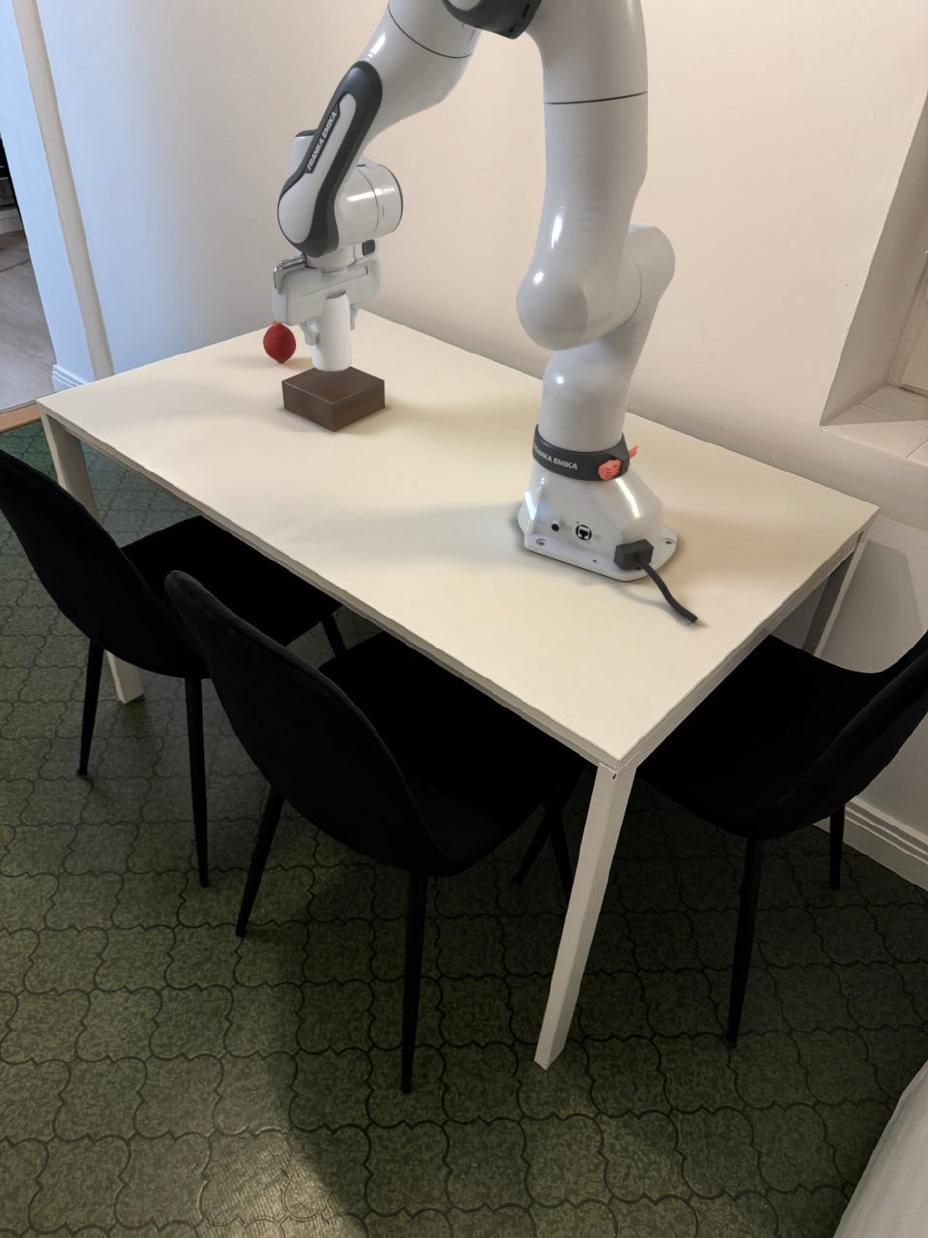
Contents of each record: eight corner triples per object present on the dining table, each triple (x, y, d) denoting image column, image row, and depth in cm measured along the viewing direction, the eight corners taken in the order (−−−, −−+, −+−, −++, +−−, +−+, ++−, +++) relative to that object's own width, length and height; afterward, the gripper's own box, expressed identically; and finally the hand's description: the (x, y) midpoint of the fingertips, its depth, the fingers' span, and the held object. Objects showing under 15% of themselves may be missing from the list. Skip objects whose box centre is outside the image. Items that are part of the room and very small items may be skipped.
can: (309, 358, 149) (303, 285, 141) (347, 354, 151) (344, 282, 143) (316, 374, 144) (310, 300, 137) (355, 371, 146) (352, 296, 138)
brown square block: (385, 407, 153) (384, 379, 150) (334, 432, 146) (332, 403, 143) (335, 386, 159) (333, 358, 156) (283, 408, 152) (281, 380, 148)
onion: (287, 353, 169) (283, 311, 164) (303, 364, 165) (300, 321, 160) (259, 361, 166) (254, 318, 161) (275, 372, 162) (271, 328, 157)
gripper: (287, 268, 128) (295, 361, 137) (386, 237, 140) (388, 324, 149) (257, 258, 131) (267, 349, 140) (357, 228, 143) (360, 314, 152)
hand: (330, 336), depth 145 cm, fingers closed on can, 6 cm apart
